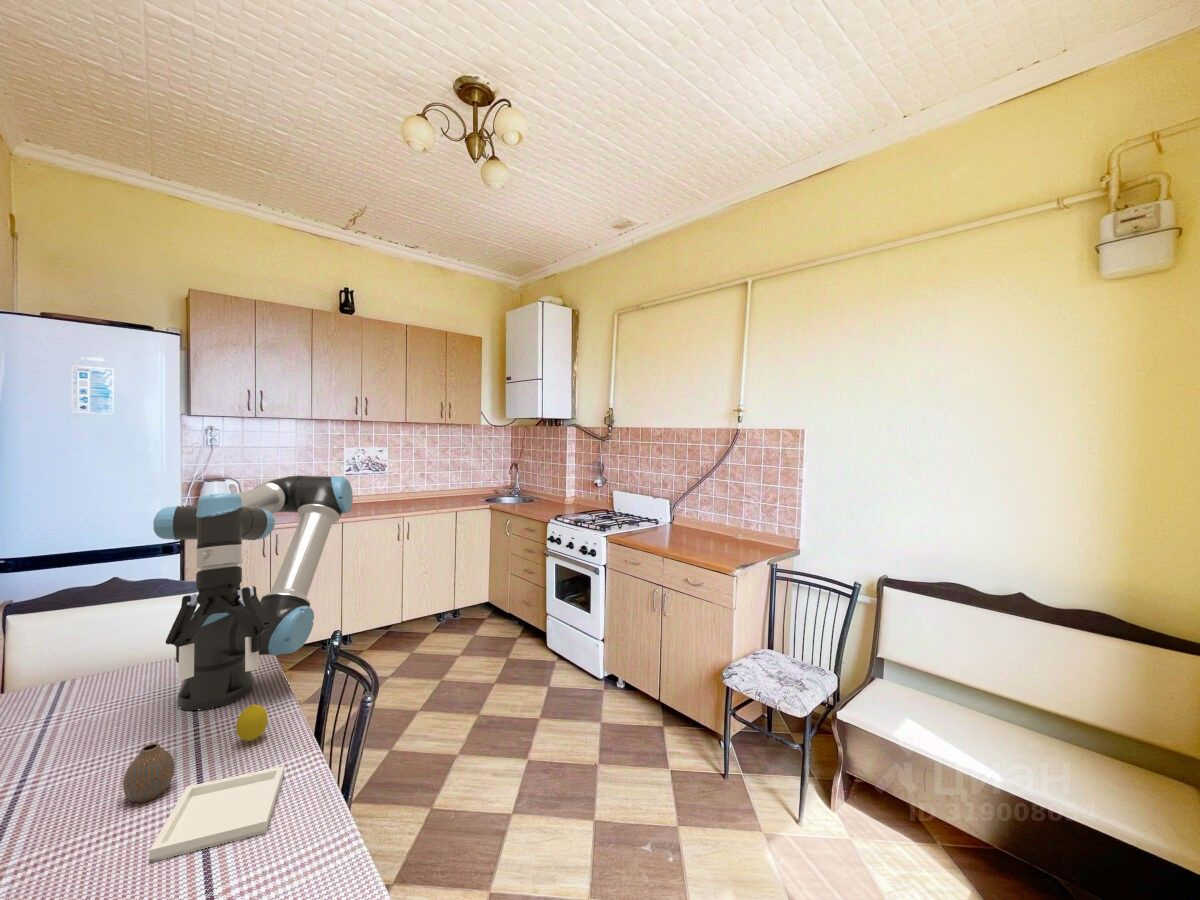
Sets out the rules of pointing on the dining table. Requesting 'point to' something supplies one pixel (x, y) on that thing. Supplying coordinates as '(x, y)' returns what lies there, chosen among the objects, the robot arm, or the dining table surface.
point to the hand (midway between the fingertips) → (219, 674)
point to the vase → (148, 774)
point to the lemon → (251, 722)
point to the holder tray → (219, 813)
